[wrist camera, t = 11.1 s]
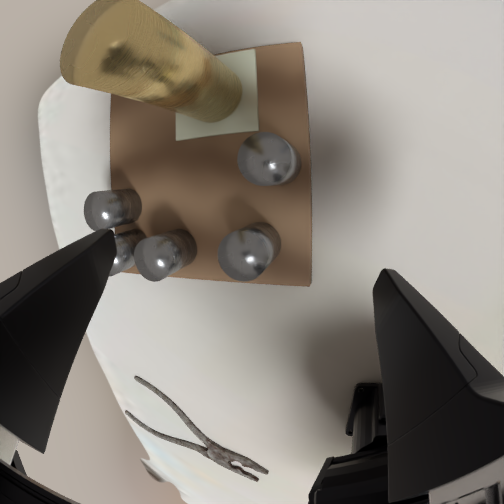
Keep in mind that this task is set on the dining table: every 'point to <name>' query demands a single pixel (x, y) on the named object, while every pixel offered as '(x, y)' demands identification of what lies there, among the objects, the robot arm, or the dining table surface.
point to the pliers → (212, 450)
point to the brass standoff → (147, 61)
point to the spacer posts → (181, 241)
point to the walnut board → (221, 166)
